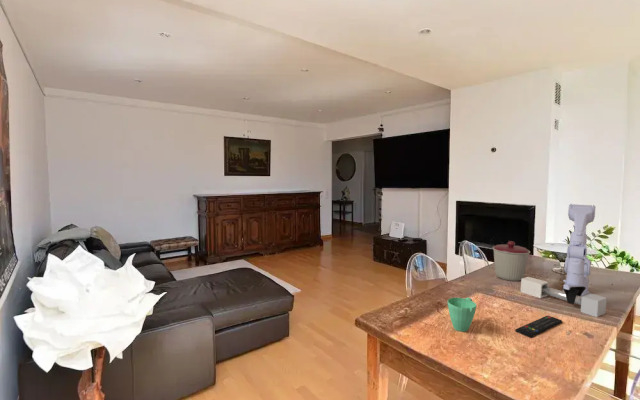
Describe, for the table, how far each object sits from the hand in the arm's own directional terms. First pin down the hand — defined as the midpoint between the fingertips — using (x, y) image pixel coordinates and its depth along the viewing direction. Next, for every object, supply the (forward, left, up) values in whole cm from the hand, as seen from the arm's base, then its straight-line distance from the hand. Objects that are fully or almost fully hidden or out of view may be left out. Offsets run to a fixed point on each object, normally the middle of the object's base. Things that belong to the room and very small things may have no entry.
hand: (572, 302), depth 139 cm
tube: (0, -4, 0) cm, 4 cm away
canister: (-13, -35, -2) cm, 38 cm away
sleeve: (0, -16, -2) cm, 16 cm away
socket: (0, +7, -2) cm, 7 cm away
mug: (+60, -10, -2) cm, 61 cm away
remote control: (+34, +4, -2) cm, 34 cm away
